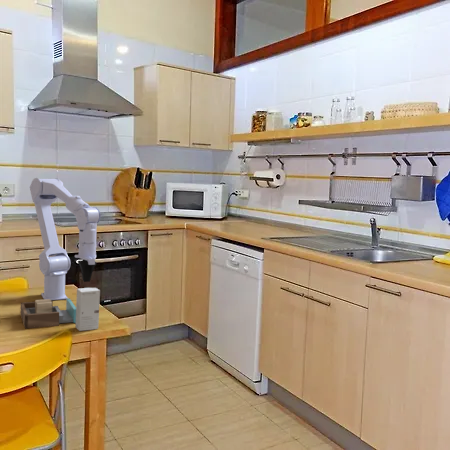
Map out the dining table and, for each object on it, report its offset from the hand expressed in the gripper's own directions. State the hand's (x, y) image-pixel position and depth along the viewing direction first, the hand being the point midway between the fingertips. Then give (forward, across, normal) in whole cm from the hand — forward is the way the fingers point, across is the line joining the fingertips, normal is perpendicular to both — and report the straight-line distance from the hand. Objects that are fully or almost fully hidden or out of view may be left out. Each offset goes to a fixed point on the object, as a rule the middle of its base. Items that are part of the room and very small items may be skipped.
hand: (86, 281), depth 167 cm
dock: (+9, +9, -16) cm, 21 cm away
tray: (+9, +9, -14) cm, 19 cm away
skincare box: (+10, +21, -4) cm, 23 cm away
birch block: (+8, +9, -15) cm, 20 cm away
